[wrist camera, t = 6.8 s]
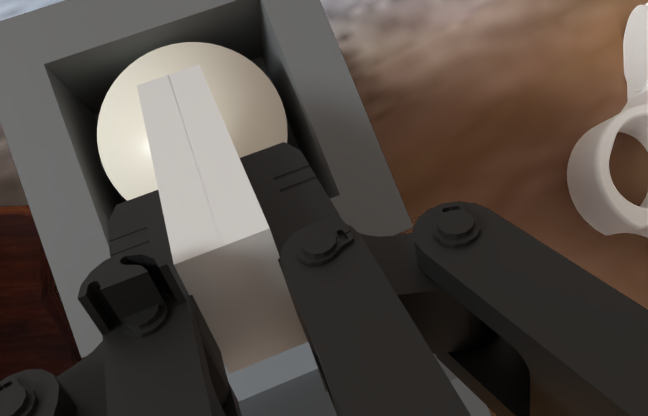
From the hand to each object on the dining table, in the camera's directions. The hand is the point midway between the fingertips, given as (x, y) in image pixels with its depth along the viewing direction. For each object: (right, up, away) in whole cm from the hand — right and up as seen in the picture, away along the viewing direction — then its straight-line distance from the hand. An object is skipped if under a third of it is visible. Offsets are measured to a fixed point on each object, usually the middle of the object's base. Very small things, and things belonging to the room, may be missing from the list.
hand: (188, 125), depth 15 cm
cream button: (-1, -1, +5) cm, 5 cm away
